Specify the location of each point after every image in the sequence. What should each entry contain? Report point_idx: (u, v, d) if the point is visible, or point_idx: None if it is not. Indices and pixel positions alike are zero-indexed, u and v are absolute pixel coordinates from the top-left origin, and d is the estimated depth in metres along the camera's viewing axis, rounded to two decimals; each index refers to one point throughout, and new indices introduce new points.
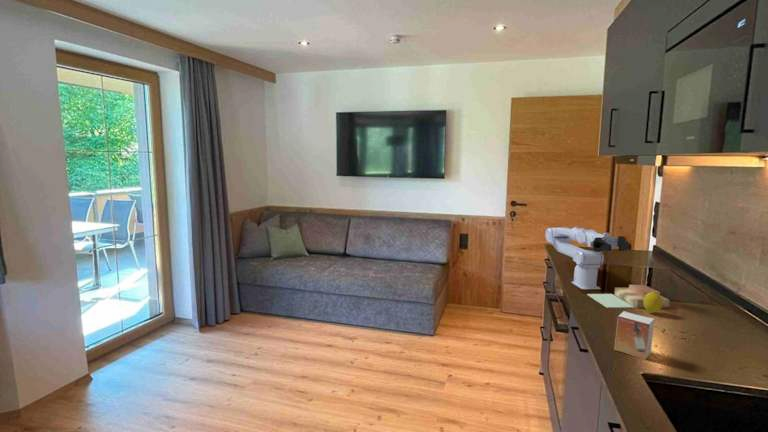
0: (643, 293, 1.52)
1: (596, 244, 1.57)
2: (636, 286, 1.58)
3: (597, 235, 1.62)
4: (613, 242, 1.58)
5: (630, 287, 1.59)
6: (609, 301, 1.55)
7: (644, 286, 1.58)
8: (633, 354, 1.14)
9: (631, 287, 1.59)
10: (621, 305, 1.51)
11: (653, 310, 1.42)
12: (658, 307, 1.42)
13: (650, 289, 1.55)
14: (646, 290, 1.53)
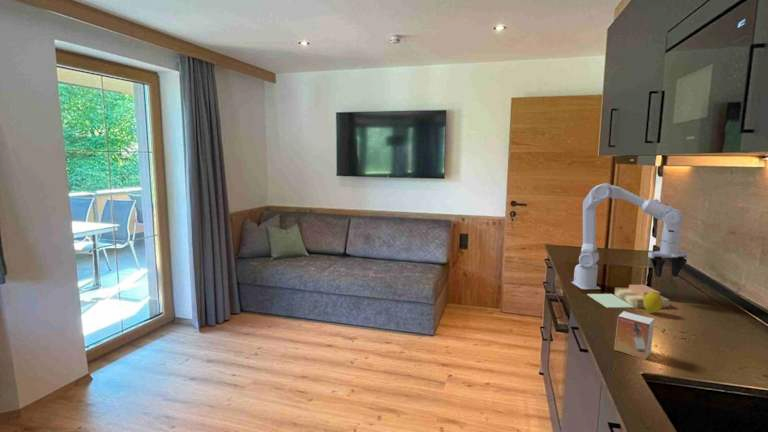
0: (643, 293, 1.52)
1: None
2: (636, 286, 1.58)
3: (670, 245, 1.51)
4: (674, 256, 1.54)
5: (630, 287, 1.59)
6: (609, 301, 1.55)
7: (644, 286, 1.58)
8: (633, 354, 1.14)
9: (631, 287, 1.59)
10: (621, 305, 1.51)
11: (653, 310, 1.42)
12: (658, 307, 1.42)
13: (650, 289, 1.55)
14: (646, 290, 1.53)
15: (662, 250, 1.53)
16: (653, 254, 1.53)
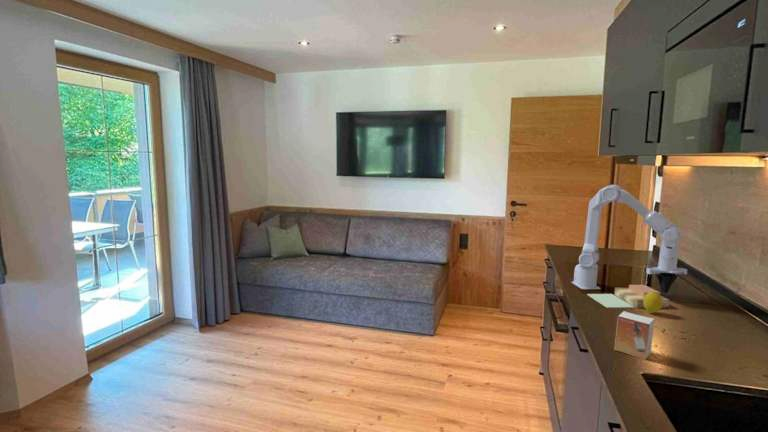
0: (643, 293, 1.52)
1: None
2: (636, 286, 1.58)
3: (668, 262, 1.52)
4: (672, 272, 1.55)
5: (630, 287, 1.59)
6: (609, 301, 1.55)
7: (644, 286, 1.58)
8: (633, 354, 1.14)
9: (631, 287, 1.59)
10: (621, 305, 1.51)
11: (653, 310, 1.42)
12: (658, 307, 1.42)
13: (650, 289, 1.55)
14: (646, 290, 1.53)
15: (660, 266, 1.54)
16: (651, 270, 1.54)
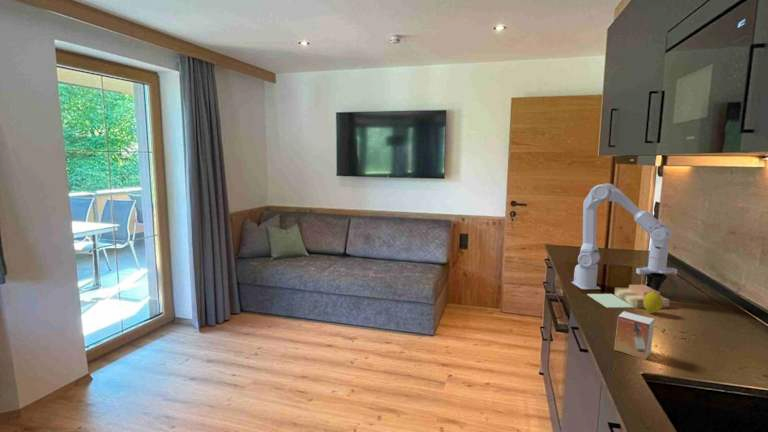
0: (643, 293, 1.52)
1: None
2: (636, 286, 1.58)
3: (658, 262, 1.52)
4: None
5: (630, 287, 1.59)
6: (609, 301, 1.55)
7: (644, 286, 1.58)
8: (633, 354, 1.14)
9: (631, 287, 1.59)
10: (621, 305, 1.51)
11: (653, 310, 1.42)
12: (658, 307, 1.42)
13: (650, 289, 1.55)
14: (646, 290, 1.53)
15: (650, 266, 1.54)
16: (641, 270, 1.54)
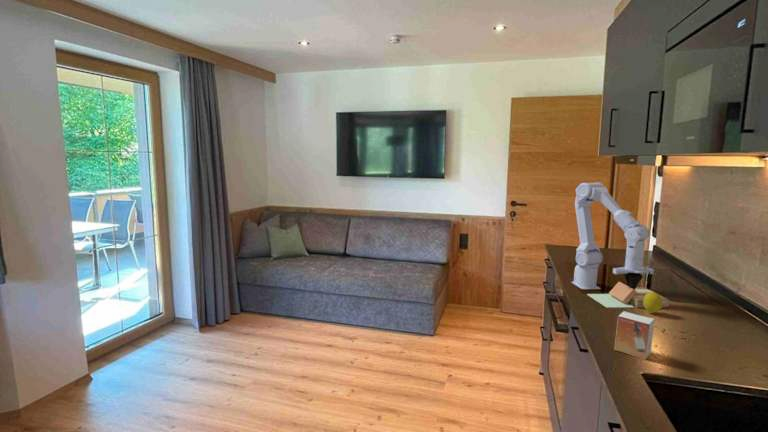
0: (622, 301, 1.52)
1: None
2: (614, 291, 1.58)
3: (634, 262, 1.52)
4: (639, 272, 1.54)
5: None
6: (609, 301, 1.55)
7: (619, 285, 1.58)
8: (633, 354, 1.14)
9: None
10: (621, 305, 1.51)
11: (653, 310, 1.42)
12: (658, 307, 1.42)
13: (625, 289, 1.54)
14: (623, 295, 1.53)
15: (626, 266, 1.54)
16: (617, 270, 1.53)
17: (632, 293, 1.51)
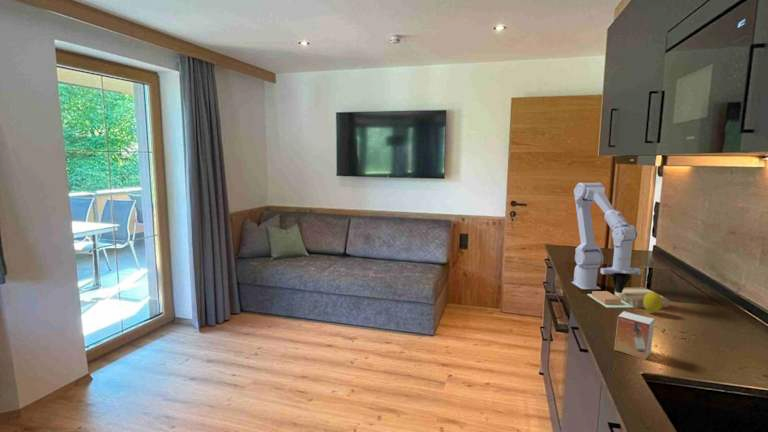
0: None
1: None
2: None
3: (621, 262, 1.51)
4: None
5: None
6: None
7: None
8: (633, 354, 1.14)
9: None
10: (621, 305, 1.51)
11: (653, 310, 1.42)
12: (658, 307, 1.42)
13: None
14: None
15: (614, 266, 1.54)
16: (605, 270, 1.53)
17: (608, 302, 1.52)
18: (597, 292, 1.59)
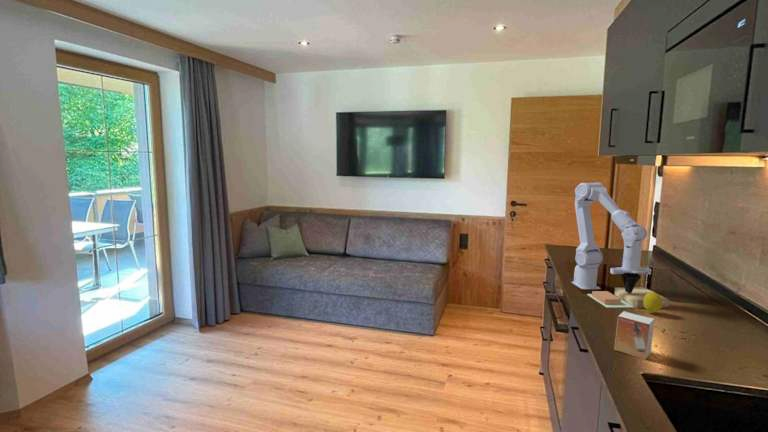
0: None
1: None
2: None
3: (631, 262, 1.52)
4: (636, 272, 1.54)
5: None
6: None
7: None
8: (633, 354, 1.14)
9: None
10: (621, 305, 1.51)
11: (653, 310, 1.42)
12: (658, 307, 1.42)
13: None
14: None
15: (624, 266, 1.54)
16: (614, 270, 1.53)
17: (608, 302, 1.52)
18: (597, 292, 1.59)
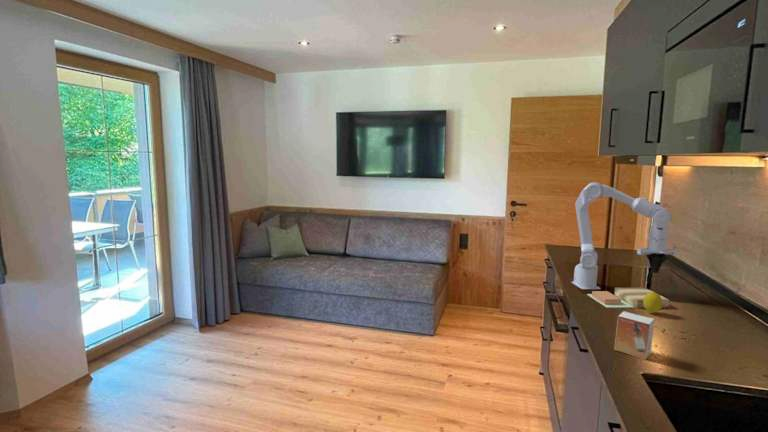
0: None
1: None
2: None
3: (658, 242, 1.56)
4: (662, 253, 1.59)
5: None
6: None
7: None
8: (633, 354, 1.14)
9: None
10: (621, 305, 1.51)
11: (653, 310, 1.42)
12: (658, 307, 1.42)
13: None
14: None
15: (650, 247, 1.58)
16: (642, 251, 1.58)
17: (608, 302, 1.52)
18: (597, 292, 1.59)
